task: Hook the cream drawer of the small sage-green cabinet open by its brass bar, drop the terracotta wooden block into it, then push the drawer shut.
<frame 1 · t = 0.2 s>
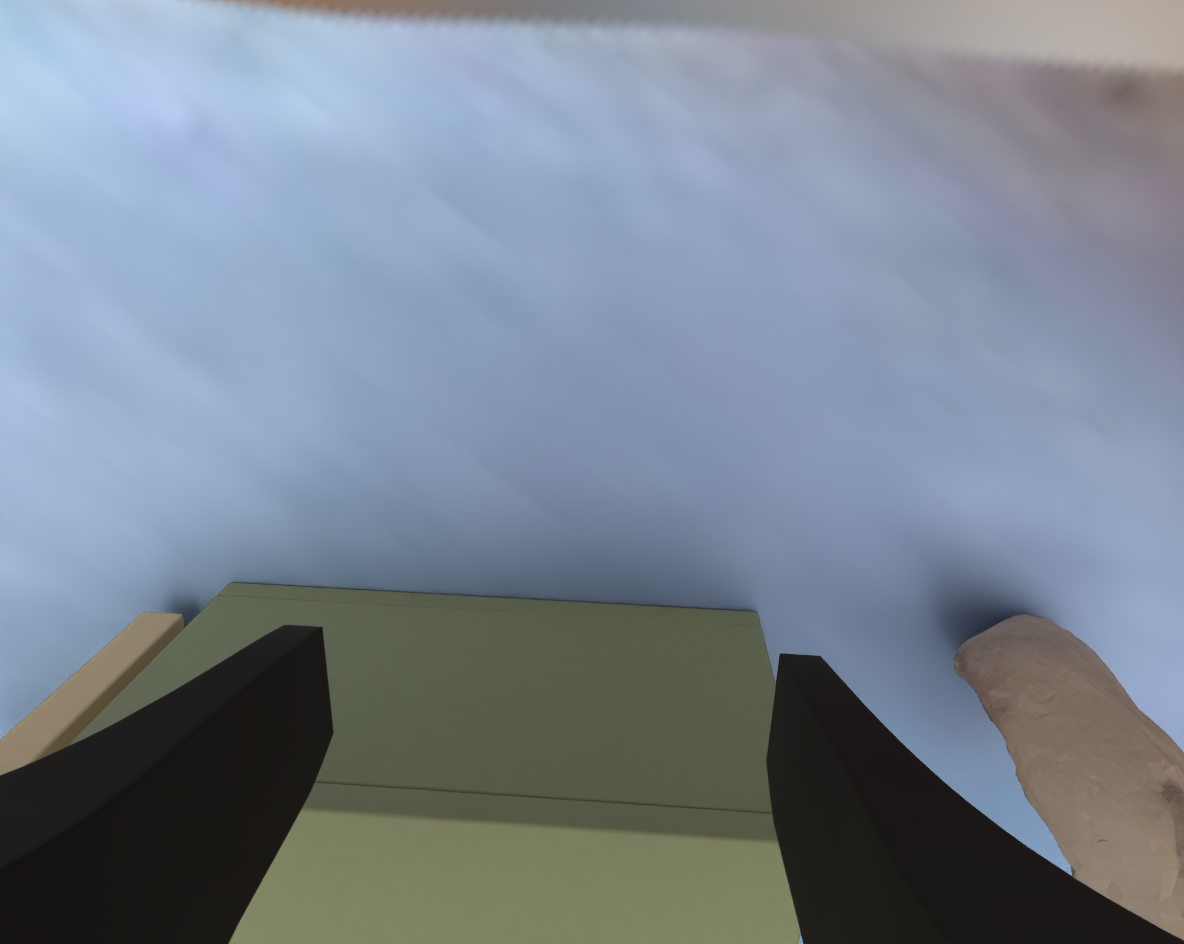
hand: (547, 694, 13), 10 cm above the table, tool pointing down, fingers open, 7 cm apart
drawer: (277, 865, 22), point 4 cm above the table, slide at 1.0 cm
fossil: (991, 629, 23), on the table
cabinet: (493, 768, 26), on the table
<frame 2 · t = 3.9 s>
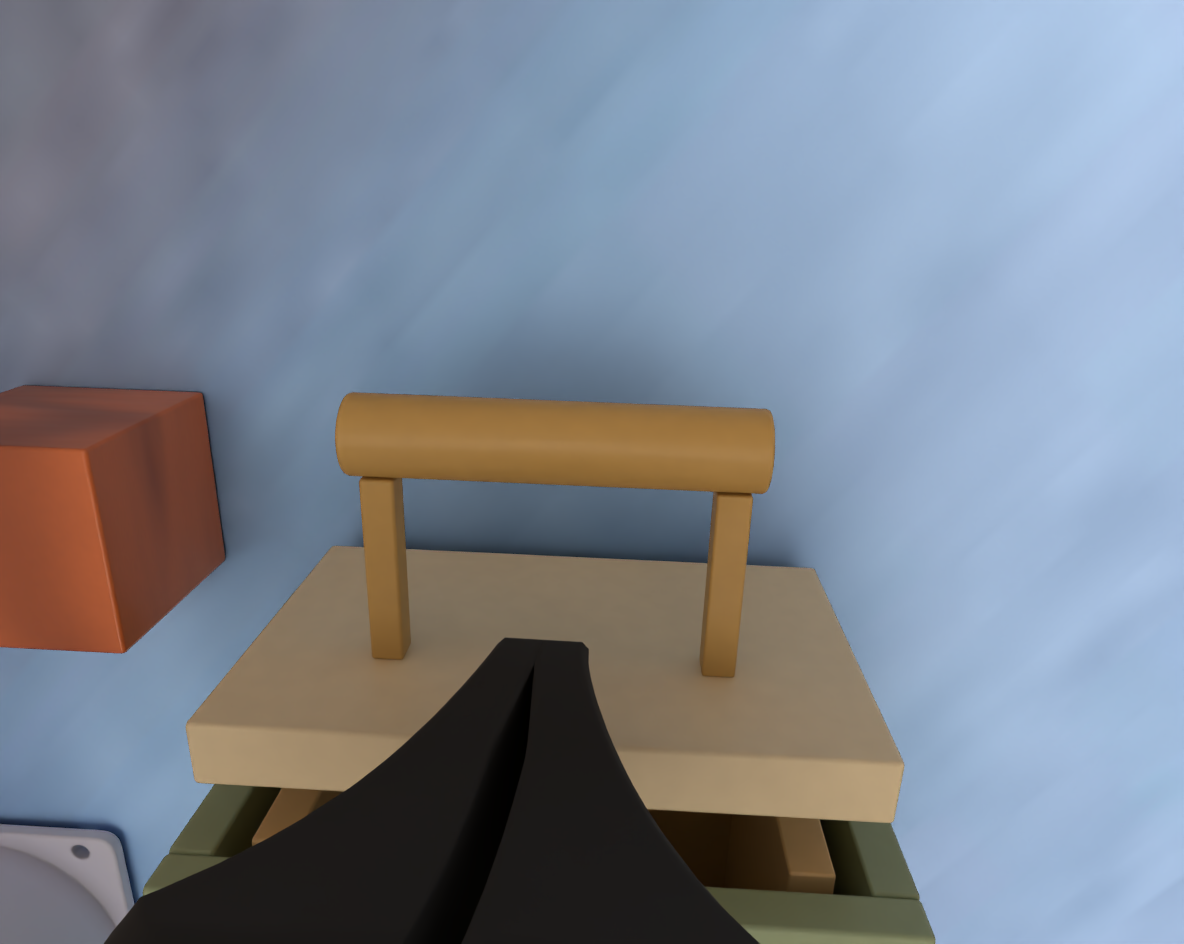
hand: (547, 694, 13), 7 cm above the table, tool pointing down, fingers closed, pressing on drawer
drawer: (554, 824, 18), point 4 cm above the table, slide at 1.3 cm, touching gripper
cabinet: (566, 865, 23), on the table
block: (128, 475, 20), on the table
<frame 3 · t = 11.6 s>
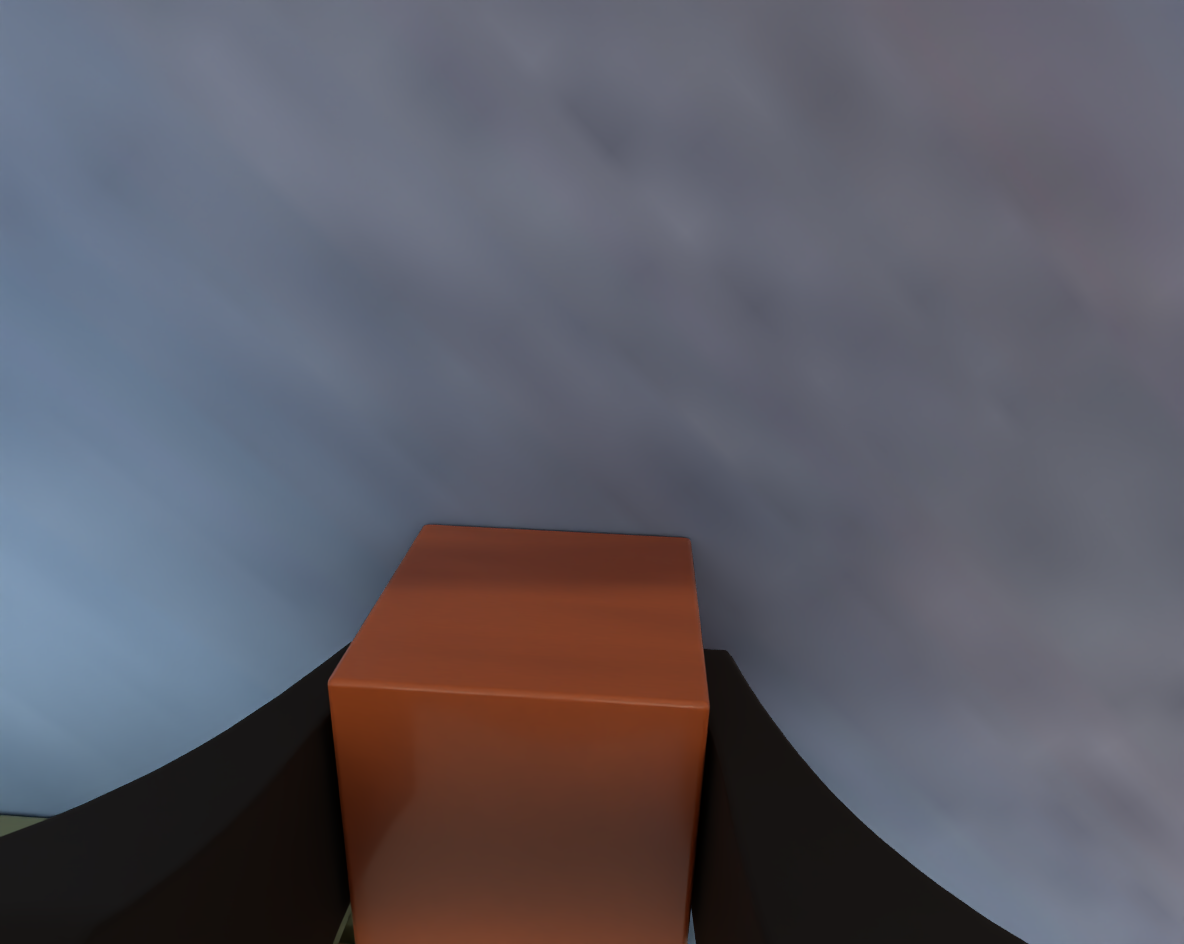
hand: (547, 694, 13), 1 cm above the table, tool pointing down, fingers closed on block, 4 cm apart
block: (554, 644, 14), on the table, touching gripper
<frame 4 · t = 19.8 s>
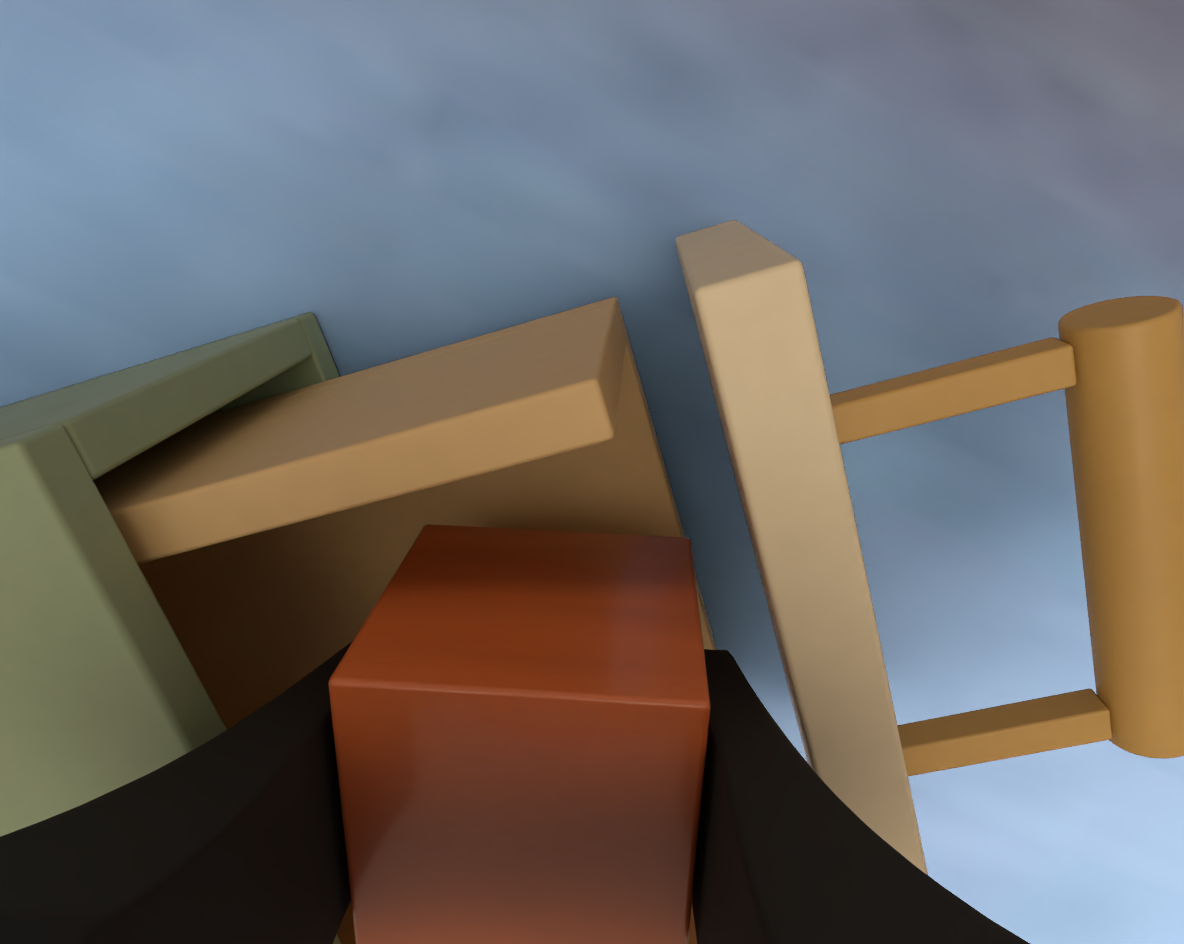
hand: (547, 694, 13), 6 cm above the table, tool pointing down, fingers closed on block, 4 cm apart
drawer: (563, 632, 14), point 4 cm above the table, slide at 7.6 cm
cabinet: (132, 640, 20), on the table
block: (555, 644, 14), point 5 cm above the table, touching gripper
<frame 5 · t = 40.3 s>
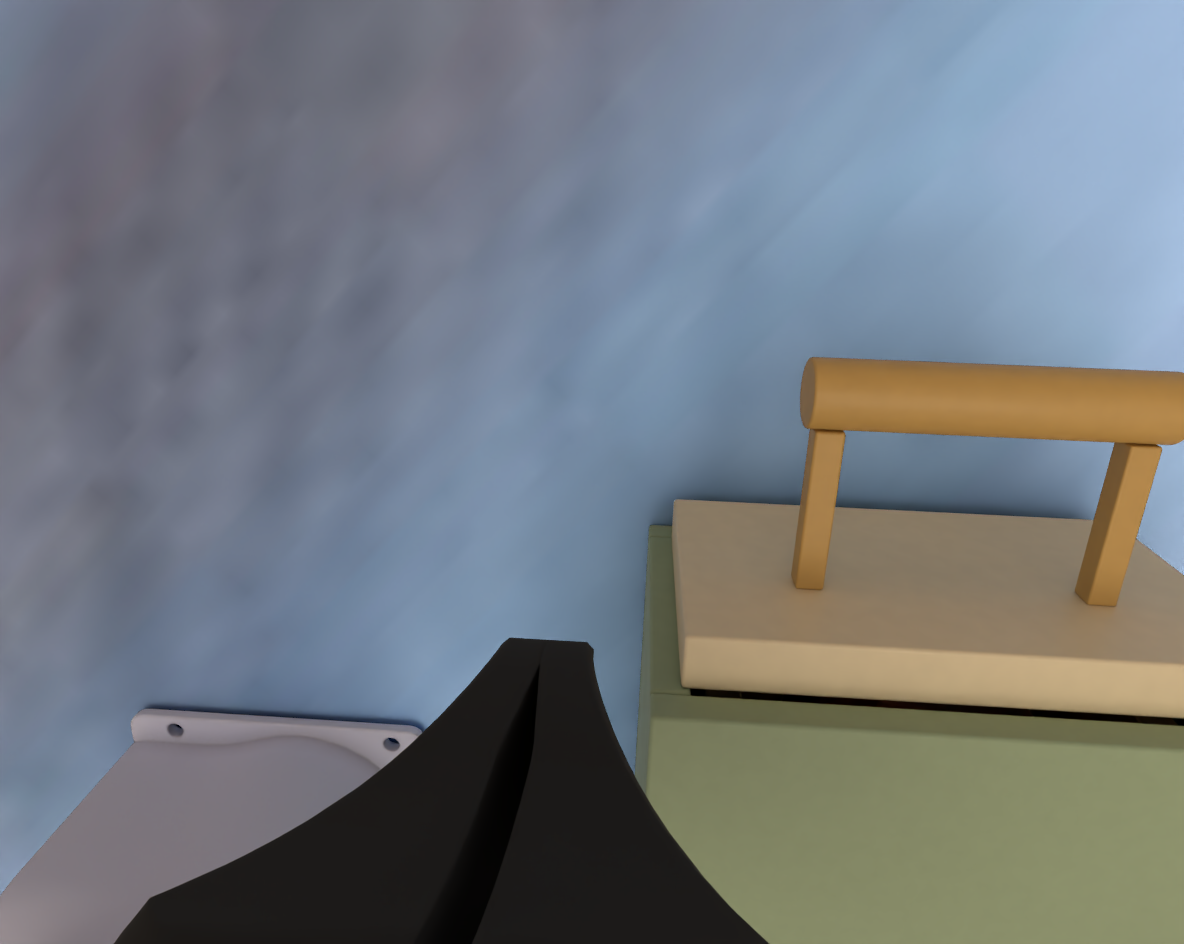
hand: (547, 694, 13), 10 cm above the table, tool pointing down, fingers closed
drawer: (898, 743, 20), point 4 cm above the table, slide at 0.0 cm, touching block, cabinet
cabinet: (837, 760, 25), on the table
block: (874, 688, 22), point 2 cm above the table, touching drawer
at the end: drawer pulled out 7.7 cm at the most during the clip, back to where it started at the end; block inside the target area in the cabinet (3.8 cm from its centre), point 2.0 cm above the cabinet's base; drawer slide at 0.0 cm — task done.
